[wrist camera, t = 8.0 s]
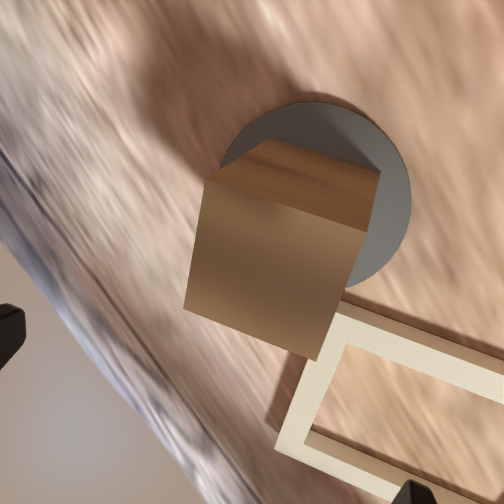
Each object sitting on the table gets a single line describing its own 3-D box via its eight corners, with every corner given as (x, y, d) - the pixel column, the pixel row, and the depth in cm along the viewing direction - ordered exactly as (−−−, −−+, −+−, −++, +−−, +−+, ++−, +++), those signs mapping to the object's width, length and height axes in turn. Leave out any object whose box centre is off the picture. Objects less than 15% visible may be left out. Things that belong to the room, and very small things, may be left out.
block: (343, 269, 20) (316, 362, 14) (246, 235, 21) (183, 308, 15) (380, 171, 18) (366, 232, 12) (270, 137, 19) (205, 178, 13)
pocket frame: (522, 542, 24) (527, 563, 23) (278, 434, 27) (273, 449, 26) (650, 415, 19) (664, 436, 18) (331, 296, 22) (327, 308, 21)
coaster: (369, 311, 21) (368, 317, 21) (207, 251, 23) (203, 255, 23) (446, 136, 17) (448, 139, 17) (241, 77, 19) (236, 78, 18)
